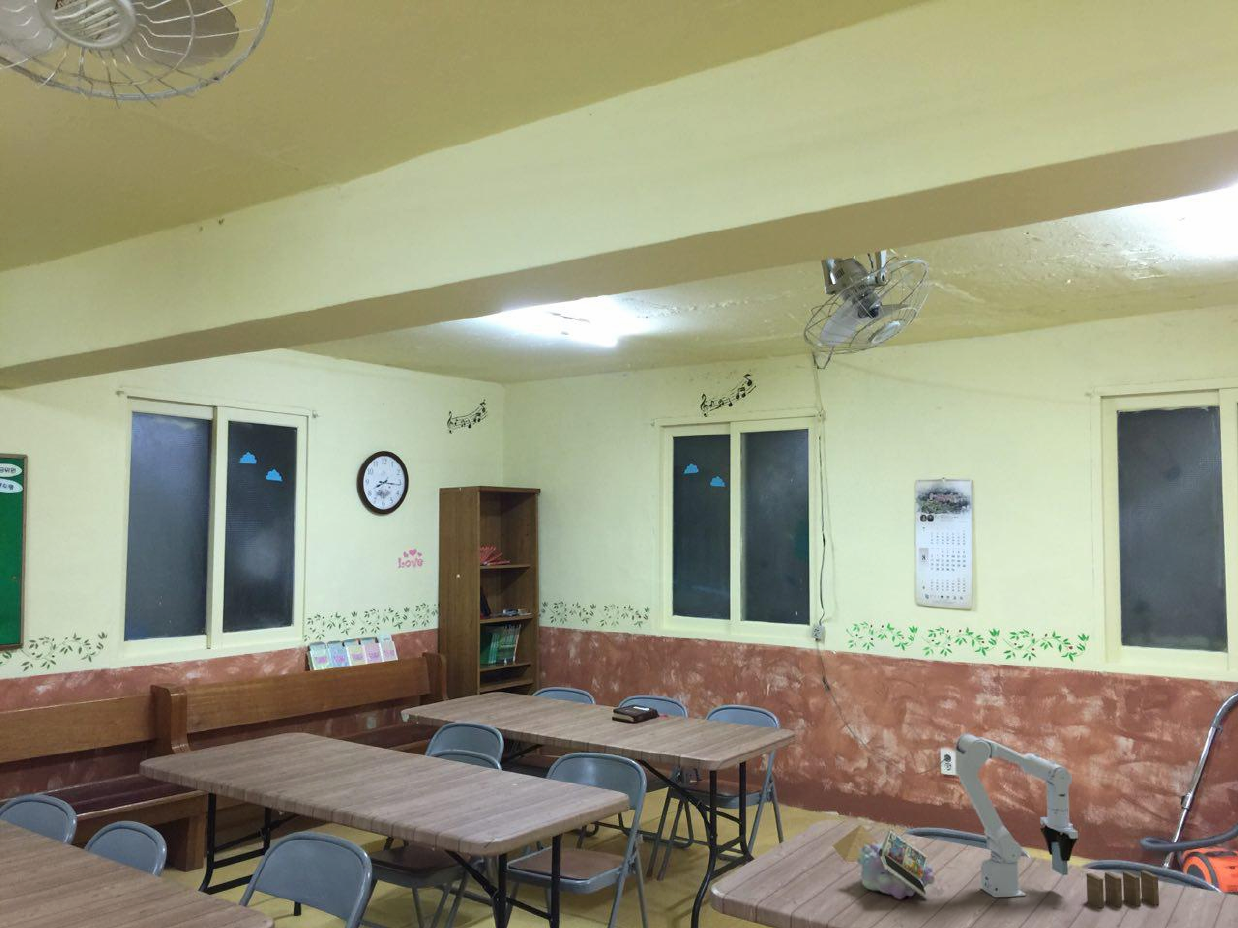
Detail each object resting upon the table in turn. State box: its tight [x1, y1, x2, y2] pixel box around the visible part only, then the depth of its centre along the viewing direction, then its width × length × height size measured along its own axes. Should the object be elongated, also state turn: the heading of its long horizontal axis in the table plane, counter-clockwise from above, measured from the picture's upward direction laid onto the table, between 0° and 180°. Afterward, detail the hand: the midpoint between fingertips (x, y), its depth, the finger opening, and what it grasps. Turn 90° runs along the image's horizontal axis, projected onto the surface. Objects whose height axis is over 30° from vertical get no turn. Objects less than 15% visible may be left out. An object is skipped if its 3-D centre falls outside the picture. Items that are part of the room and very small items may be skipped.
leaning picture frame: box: [857, 827, 936, 900], centre depth 271 cm, size 20×22×18 cm
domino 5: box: [1140, 869, 1160, 906], centre depth 264 cm, size 1×5×8 cm, turn 9°
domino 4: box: [1122, 870, 1142, 907], centre depth 263 cm, size 1×5×8 cm, turn 9°
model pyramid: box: [832, 824, 879, 862], centre depth 303 cm, size 17×17×10 cm
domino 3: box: [1104, 871, 1123, 908], centre depth 262 cm, size 1×5×8 cm, turn 9°
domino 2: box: [1086, 872, 1105, 909], centre depth 261 cm, size 1×5×8 cm, turn 9°
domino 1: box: [1051, 842, 1069, 876], centre depth 271 cm, size 1×5×8 cm, turn 9°
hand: (1059, 857), depth 271 cm, fingers closed on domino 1, 5 cm apart
